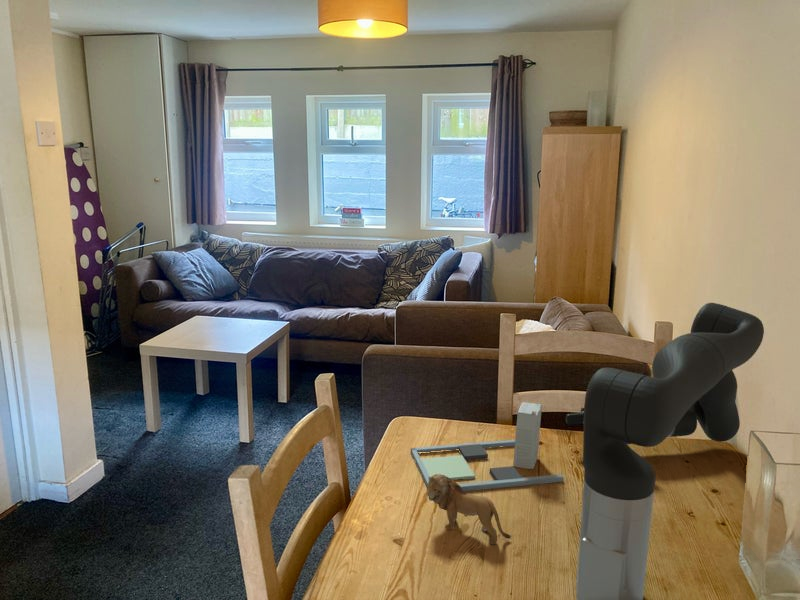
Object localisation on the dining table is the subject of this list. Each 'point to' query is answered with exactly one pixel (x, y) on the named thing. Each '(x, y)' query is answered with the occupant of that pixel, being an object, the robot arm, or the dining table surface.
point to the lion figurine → (463, 504)
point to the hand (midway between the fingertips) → (575, 427)
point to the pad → (449, 467)
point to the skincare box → (527, 435)
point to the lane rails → (486, 483)
